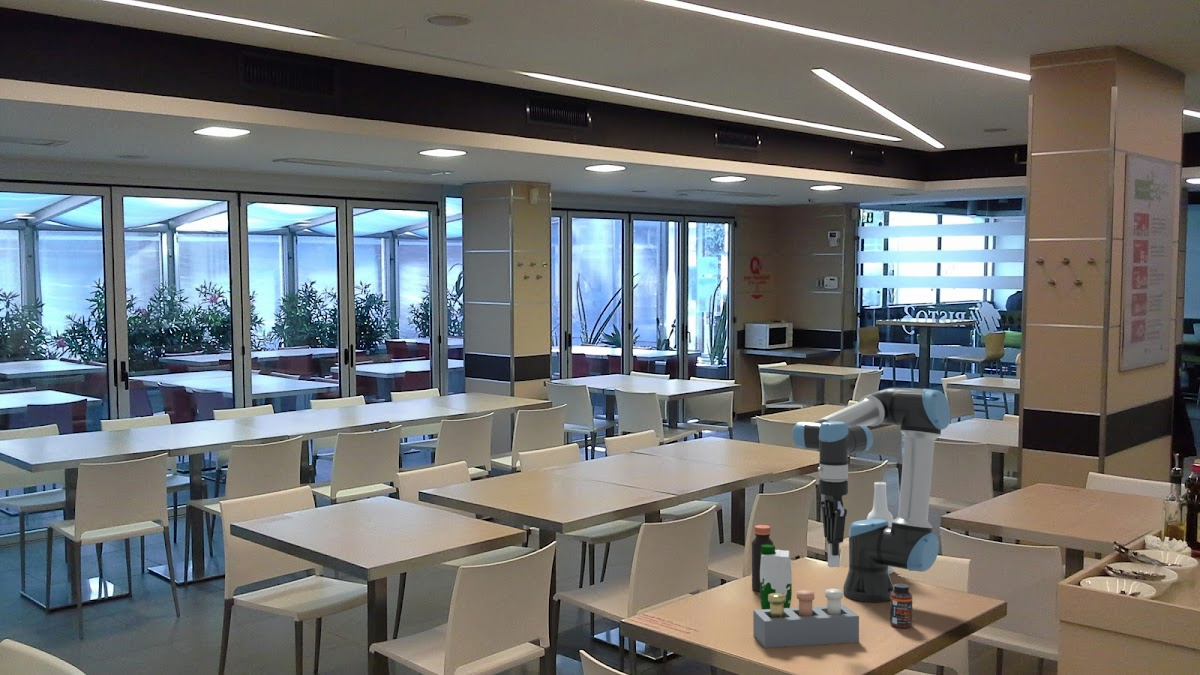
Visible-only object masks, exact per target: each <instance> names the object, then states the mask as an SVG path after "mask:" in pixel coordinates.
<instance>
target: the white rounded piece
mask: <svg viewBox="0 0 1200 675" xmlns="http://www.w3.org/2000/svg"><path fill="white" fill-rule="evenodd" d="M824 591H825V592H824V597H825V598H826V606H827V615H836V614H841V605H842V599H843V597H844V596H843V595H844V594H843V589H838V588H828V589H825V590H824Z"/></svg>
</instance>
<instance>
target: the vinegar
mask: <svg viewBox="0 0 1200 675" xmlns="http://www.w3.org/2000/svg"><path fill="white" fill-rule="evenodd" d="M754 535H755V538H754V539H753V540H752V541H751V588H752V591H755V592H759V593H760V564H761V555H760V554H761V545H763V544H772V545H774V542H773V540H772V539H771V538H770V537H771V526H769V525H767V524H766V525H765V524H758V525H755V526H754Z"/></svg>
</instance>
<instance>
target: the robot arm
mask: <svg viewBox="0 0 1200 675" xmlns="http://www.w3.org/2000/svg"><path fill="white" fill-rule="evenodd" d="M950 421H951V407H950V403H949V400H948V398H947V397H946V395H945V394H944V393H943V391H940V390H937V389H930V388H915V387H914V388H913V387H912V388H909V387H888V388H884V389H881V390H878V391H875V392H872V393H870V394H866V395H865V396H862V397H861V398H859V400H858V401H857V403H854V404H853V405H849V406H847V407H845V408H842V409H840V410H838V411H836V412H833V413H831V414H829V415H827V416H824V417H821V418H819V419H816V420H814V421H811V422H810V421H799V422H797V423H796V424H794V426H793V428H792V432H791V435H792V442H793V443H794V445H795V446H796V447H798V448H801V449H806V450H817V451H819V464H818V465H819V467H817V472H819V478H820V480H819V481H818V484H819V485H818V490H819V491H818V492H819V494H820V495H823V496H824V500H821V501H820V506H821V507H820V508H821V513H822V524H823V525H822V526H823V536H824V538H826V541H827V567H829V568H840V544H842V543H843V542H844V536H845V526H846V517H847V514H848V510H847V508H844V501H843V497H844V496H846V495H848V493H849V481H848V480H847V479H848V478H849V463H848V462H849V458H848V457H849V455H854V454H861V453H864V452H867V451H869V450H870V449H871V448H872V446H873V444H874V434H873V432H872V430H871V429H870V428H869V427H875V426H876V427H877V426H880V425H891V426H892V425H893V426H900V433H901V434H902V435H903V436H904V445H903V457H902V467H901V468H902V469H901V478H900V489H899V498H898V499H899V500H898V501H899V502H898V511H897V516H896V518H893V519H894V520H893V521H892V527H888V525H889V524H888V521H887V520H883V519H869V520H867V519H862V520H856V521H853V522H852V523H850V525H849V530H848V572H847V575H846V577H845V581H844V583H843V589H842V591H843V595H844V597H846V598H847V599H848V598H849V599H852V600H854V601H859V602H865V603H866V602H868V603H869V602H871V603H879V602H881V603H882V602H888V601H890V595H891V593H892V592H893V591H894V584H893V582H892V578H891V576H890V574H889V573H888V566H892V567H894V568H898V569H903V570H908V571H909V572H911V571H912V572H914V571H915V572H920V573H921V572H927V571H928V570H930V569H931V568H932V567H933V565H934V564H935V562H936V560H937V557H938V555H939V549H940V543H939V538H938V535H936V534H934V532H933V526H932V525H931V523H930V522H929V519H928V518H929V510H930V509H929V508H930V497H931V488H932V475H933V474H932V473H933V465H934V464H933V463H934V453H935V444H936V443H935V441H936V440H937V439H939V437H941V435H942V434H941V433H942V430H945V429H946V428H948V427H949V424H950Z"/></svg>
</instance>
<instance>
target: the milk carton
mask: <svg viewBox="0 0 1200 675" xmlns="http://www.w3.org/2000/svg"><path fill="white" fill-rule="evenodd" d="M760 555H761V564H760V592H759V596H760V597H759V598H760V605H761V606H760V607H761V610H763V609H770V602H769V601H768V595H769V594H771V593H781V594H784V595H785V596H786V602H785V603H784V608H791V603H792V595H793V594H792V593H793V590H792V588H793V586H792V585H793V584H792V583H793V582H792V580H793V579H792V578H793V577H792V576H793V575H792V574H793V573H792V563H791V555H790V550H782V549H776V546H775V544H773V545H772V544H763V545H761V554H760Z"/></svg>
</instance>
